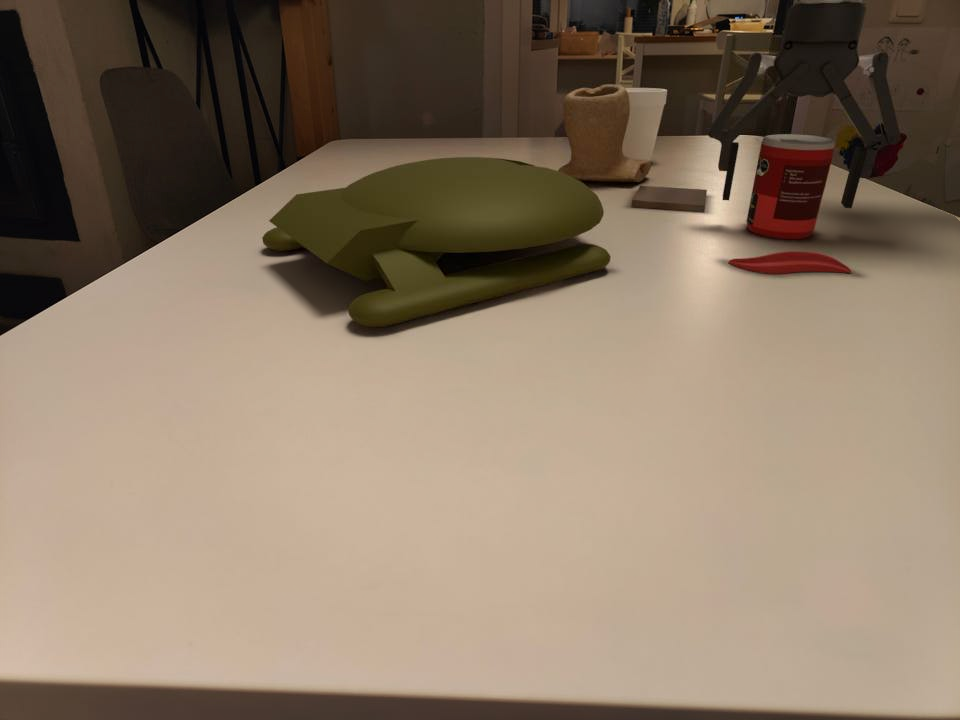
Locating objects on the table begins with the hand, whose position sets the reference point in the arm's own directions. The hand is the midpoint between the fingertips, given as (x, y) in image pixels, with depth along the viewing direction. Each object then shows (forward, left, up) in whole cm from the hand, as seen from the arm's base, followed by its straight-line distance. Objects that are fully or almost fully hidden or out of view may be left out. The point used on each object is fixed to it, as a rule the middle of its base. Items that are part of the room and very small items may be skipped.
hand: (784, 201), depth 75 cm
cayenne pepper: (0, +15, -4) cm, 15 cm away
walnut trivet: (+14, -12, -4) cm, 19 cm away
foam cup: (+23, -42, -4) cm, 48 cm away
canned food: (0, 0, -4) cm, 4 cm away
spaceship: (+36, +21, -4) cm, 42 cm away
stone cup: (+26, -23, -4) cm, 35 cm away
